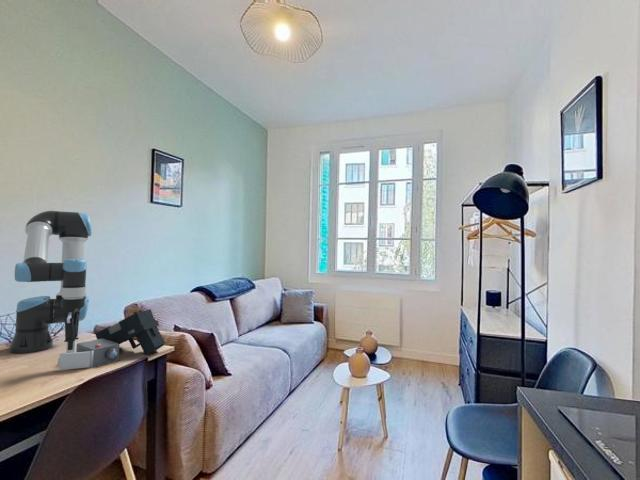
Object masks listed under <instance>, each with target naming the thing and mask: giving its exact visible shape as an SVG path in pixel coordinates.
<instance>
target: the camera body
mask: <svg viewBox="0 0 640 480" xmlns="http://www.w3.org/2000/svg"><path fill="white" fill-rule="evenodd" d="M92 350H93V351H94V352H93V367H92V368H96V367H99V366H104V365H106V364H110V363H114V362H117V361H119V360H120V344H118V343H115V342H112V341H109V340H106V339H103V338H102V339H97V338H96V339H94V340H93V339H91V340H88V341H83V342H78V343H77V342H76V352H88V351H92ZM76 352H75V353H76Z"/></svg>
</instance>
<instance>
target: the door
mask: <svg viewBox="0 0 640 480" xmlns="http://www.w3.org/2000/svg"><path fill="white" fill-rule="evenodd" d="M93 352H94V351H93V350H92V351H88V352H75V353H66V352H65V353H59V355H58V356H59V357H58V359H57V365H58V371H65V370H75V369H76V370H77V369H84V368H90V369H91V368H94V367H93Z"/></svg>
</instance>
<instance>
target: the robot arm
mask: <svg viewBox="0 0 640 480" xmlns="http://www.w3.org/2000/svg"><path fill="white" fill-rule="evenodd" d="M24 229H25V230H24V231H25V234H26V235H27V237H26V242H25V243H26V244H25V248H24V256H23V262H17V263H16V264H15V266H14V281H16V282H17V283H18V282H19V283H35V282H37V283H39V282H60V289H59V290H60V291H59V292H58V293H56V294H55V298H51V296H50V295H41V296H33V297H28V298H25V299H21V300H19V301H18V302H17V304H16V310H15V313H16V315H15V332H14V335H13V338H12V340H11V342H10V344H9V347H8V352H10V353H11V354H27V353H35V352H40V351H44V350H47V349H49V348H52V347H53V344H54V343H53V339H52V335H51V332H50V329H49V328H50V325H52V324H53V325H54V324H64V333H65V334H64V337H65V338H64V339H65V340H64V341H63V342H64V343H66V347H65V349H66V352H65V353H76V349H77V340H79V338H80V337H78V335H79V334H78V333H79V325H80V321H84V319H85V318H86V317H87V313H88V308H89V302H90V301H89V300H90V297H89V296H86V295H87V294H86V288H87V287H86V279H87V268H88V267H87V260H86V259H84V254H85V253H84V249H85V246H84V245H85V242H87V240H89V237H91V236H92V224H91V218H90V216H89V214H88V213H83V212H75V211H59V210H58V211H57V210H47V211H42V212H40V213H37V214H36V215H34V216H33V217H31V218H30V219H29V220H28V221H27V223H26V224H25V228H24ZM51 235H52V236H58V240H60V241H61V242H62V249H61V262H48V259H49V258H48V255H49V245H50V237H51Z"/></svg>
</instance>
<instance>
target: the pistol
mask: <svg viewBox="0 0 640 480" xmlns="http://www.w3.org/2000/svg"><path fill="white" fill-rule="evenodd" d="M159 326H160V324H159V321H158V319H157V320H156V318H155V317H154V315H153V312H152V310H151V308H150V309H145V310H138V311H137V310H136V311H134V312H133V314H132V315H129V316H128V317H125V318H123V319H121V320H120V321H119V322H117V323H116V324H113V325H112V326H110V325H108V326H107V327H104V329H101V330H99V331H96V332H95V333H94V335H95V338H96V340H97V339H102V338H103V339H106V340H109V341H112V342H115V343H118V344H119V345H121V344H123V343H125V342H127V341H128V342H129V344H130V346H131V348H132V349H133V350H134V349H136V348H138V347H139V346H140V347H141V349H142V351H143V353H144V355H145V356H147V355H149V354H151V353H153V352H156V351H157V350H159V349H160V348H162V347H163V346H165V343H166V340H164V337H163V336H162V334H161V332H160V330H159V328H158V327H159ZM134 338H136V340H137V344H136V342H135V339H134Z"/></svg>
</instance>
